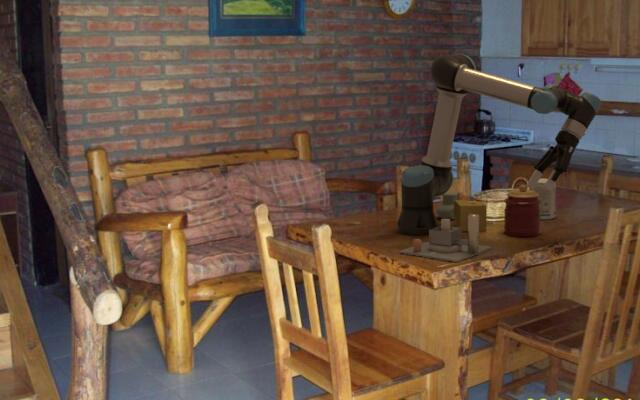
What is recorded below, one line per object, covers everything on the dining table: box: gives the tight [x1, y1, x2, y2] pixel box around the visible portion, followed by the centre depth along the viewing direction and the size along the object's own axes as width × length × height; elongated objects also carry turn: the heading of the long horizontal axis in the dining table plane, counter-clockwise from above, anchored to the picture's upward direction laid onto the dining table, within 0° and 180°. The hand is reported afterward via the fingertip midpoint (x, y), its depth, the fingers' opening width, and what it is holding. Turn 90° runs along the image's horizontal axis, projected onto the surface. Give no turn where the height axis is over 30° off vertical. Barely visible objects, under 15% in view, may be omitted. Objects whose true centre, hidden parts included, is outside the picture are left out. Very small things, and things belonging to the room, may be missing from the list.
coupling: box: [428, 214, 480, 253], centre depth 290 cm, size 16×8×12 cm, turn 55°
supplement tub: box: [530, 178, 557, 220], centre depth 342 cm, size 10×10×15 cm
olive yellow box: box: [454, 199, 487, 233], centre depth 326 cm, size 10×11×10 cm
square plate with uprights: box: [398, 218, 492, 263], centre depth 293 cm, size 22×22×11 cm
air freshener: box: [435, 191, 459, 221], centre depth 345 cm, size 11×8×10 cm
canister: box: [503, 184, 542, 237], centre depth 316 cm, size 13×13×18 cm
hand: (537, 188), depth 297 cm, fingers open, 13 cm apart
